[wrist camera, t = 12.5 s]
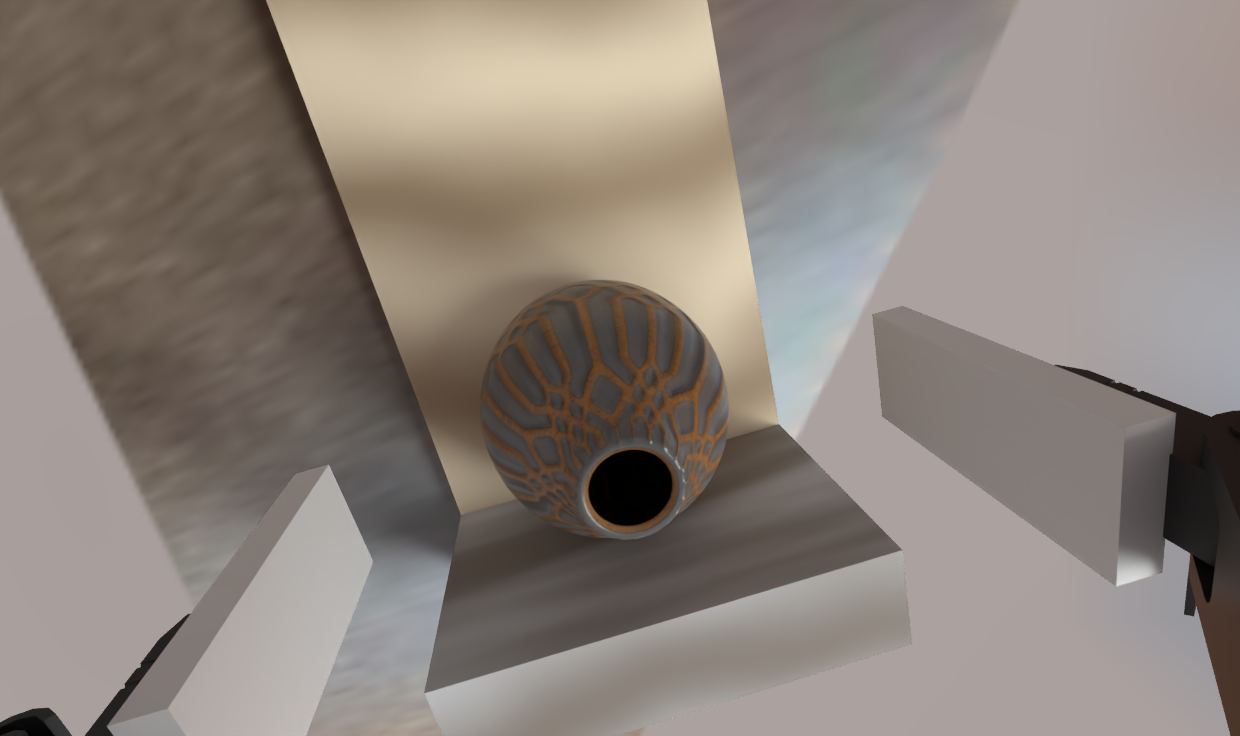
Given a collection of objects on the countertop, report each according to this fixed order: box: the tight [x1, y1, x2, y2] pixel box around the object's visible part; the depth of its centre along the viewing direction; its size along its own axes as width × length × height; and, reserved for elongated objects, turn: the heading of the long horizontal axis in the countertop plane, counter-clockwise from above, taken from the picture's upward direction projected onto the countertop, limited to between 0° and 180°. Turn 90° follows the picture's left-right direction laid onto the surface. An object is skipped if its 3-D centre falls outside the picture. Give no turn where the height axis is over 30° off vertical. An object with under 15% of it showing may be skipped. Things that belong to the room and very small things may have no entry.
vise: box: [266, 0, 912, 736], centre depth 16 cm, size 28×12×10 cm, turn 14°
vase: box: [480, 280, 729, 540], centre depth 17 cm, size 7×7×9 cm
